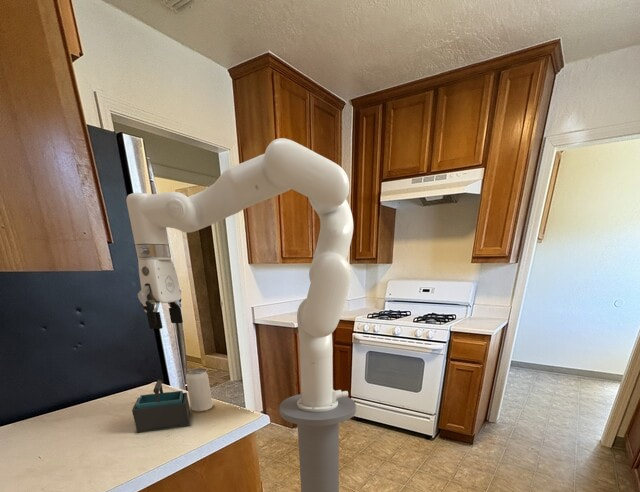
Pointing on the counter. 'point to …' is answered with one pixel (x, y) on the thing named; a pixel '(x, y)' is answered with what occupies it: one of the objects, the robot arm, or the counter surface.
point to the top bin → (160, 398)
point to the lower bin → (162, 416)
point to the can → (199, 390)
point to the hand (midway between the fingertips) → (167, 325)
